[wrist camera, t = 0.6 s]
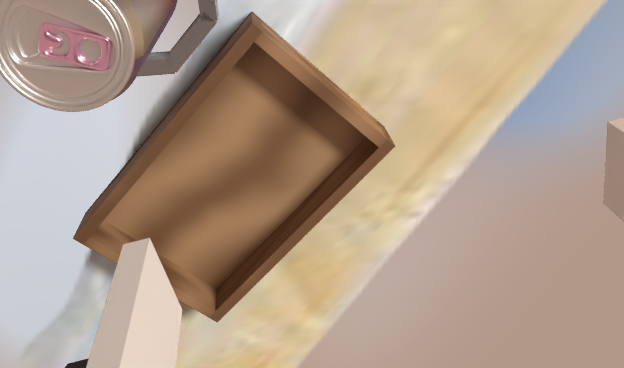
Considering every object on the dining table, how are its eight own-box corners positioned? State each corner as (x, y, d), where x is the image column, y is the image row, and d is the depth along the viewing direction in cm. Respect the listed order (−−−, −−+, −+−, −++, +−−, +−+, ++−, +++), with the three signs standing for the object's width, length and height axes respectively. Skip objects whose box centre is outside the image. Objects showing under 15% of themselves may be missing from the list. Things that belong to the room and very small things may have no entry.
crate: (85, 212, 42) (73, 238, 39) (252, 11, 37) (252, 22, 34) (219, 294, 47) (217, 322, 44) (384, 126, 41) (395, 146, 38)
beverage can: (170, 43, 37) (128, 130, 24) (76, 20, 36) (-23, 98, 23) (186, -50, 35) (149, -11, 21) (85, -79, 33) (-21, -56, 20)
